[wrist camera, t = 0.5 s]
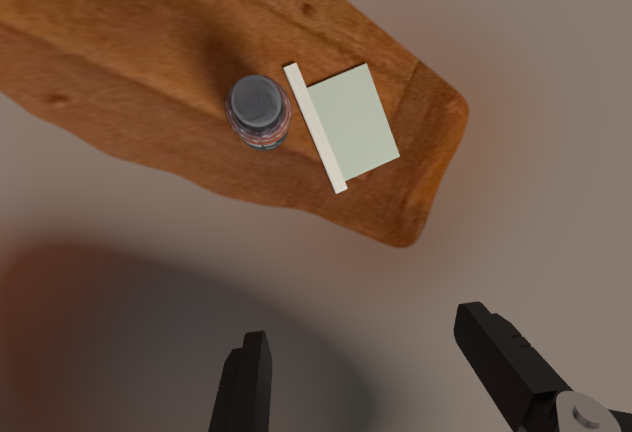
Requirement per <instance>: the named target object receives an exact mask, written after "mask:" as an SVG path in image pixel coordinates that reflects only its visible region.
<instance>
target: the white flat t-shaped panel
mask: <svg viewBox="0 0 632 432" xmlns="http://www.w3.org/2000/svg"><path fill="white" fill-rule="evenodd" d="M284 72H285V74H286V77H287V79H288V81H289V84H290V86H291V89H292V91H293V93H294V96H295V98H296V100H297V103H298V105H299V108H300V110H301V112H302V115H303V117H304V120H305V122H306V124H307V127H308V129H309V132H310V134H311V136H312V139H313V141H314V144H315V146H316V148H317V151H318V153H319V155H320V158H321V160H322V163H323V165H324V167H325V170H326V172H327V175H328V177H329V179H330V182H331V184H332V187H333V189H334V191H335V194H337V193H339V192H341V191H344V190H346V189H348V188H347V186H346V184H345V181H347V180H349V179H351V178H353V177H355V176H358V175H360V174H362V173H364V172H366V171H369V170H371V169H373V168H375V167H378V166H380V165H382V164H384V163H386V162H389V161H391V160H393V159H395V158H397V157H400V155H399V152H398V150H397V147H396V144H395V141H394V139H393V136H392V133H391V130H390V127H389V125H388V122H387V119H386V116H385V113H384V111H383V108H382V105H381V102H380V99H379V97H378V94H377V91H376V88H375V86H374V83H373V80H372V77H371V74H370V72H369V69H368V66H367V63H366V64H364V65H361V66H359V67H356V68H354V69H352V70H349V71H347V72H344V73H342V74H340V75H337V76H335V77H332V78H330V79H328V80H325V81H323V82H320V83H318V84H316V85H313V86H311V87H308V88H306V85H305V83H304V80H303V78H302V76H301V73H300V71H299V68H298V66H297V63H294V64H291V65H289V66H287V67H284Z"/></svg>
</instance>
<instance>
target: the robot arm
mask: <svg viewBox="0 0 632 432" xmlns="http://www.w3.org/2000/svg"><path fill="white" fill-rule="evenodd" d="M454 337H455V340H456V342H457V344H458V346H459V347H460V349H461V351H462V352H463V354H464V356H465V357H466V359H467V360H468V362H469V363H470V365H471V367H472V368H473V369H474V371H475V373H476V374H477V376H478V378H479V379H480V381H481V382H482V384H483V385H484V387H485V388H486V390H487V392H488V393H489V395H490V396H491V398H492V399H493V401H494V402H495V404H496V406H497V407H498V409H499V410H500V412H501V413H502V415H503V417H504V418H505V420H506V421H507V423H508V424H509V426H510V428H511V429H512V431H513V432H632V414H630V413H625V412H619V411H613V410H609V409H606V408H605V407H604V406H602V405H601V404H600V403H599V402H597V401H595V400H594V399H592V398H590V397H588V396H586V395H584V394H581V393H578V392H575V391H573V390H572V389H571V388H570V387H569V386H568V385H567V384H566V383H565V381H564V380H562V378H560V376H559V375H558V374H557V373H556V372H555V371H554V370H553V368H552V367H551V366H550V365H549V364H548V363H547V362H546V361H545V360H544V359H543V357H542V356H541V355H540V354H539V353H538V352H537V351H536V350H535V349H534V348H533V347H531V344H530V343H529V342H528V341H527V340H526V339H525V338H524V337H522V335H521V334H520V332H519V331H517V329H516V328H515V327H514V326H513V325H512V324H511V323H510V322H509V321H507V320H506V319H504V318H503V317H501V316H500V315H498V314H497V313H495V314H491V313H490V312H489V311H488V310H487V308H486V307H485V306H484V305H483V304H482V303H480V302H472V303H463V304H459V306H458V309H457V314H456V319H455V325H454ZM271 383H272V355H271V351H270V347H269V343H268V340H267V336H266V332H265V331H264V330H262V331H255V332H248V333H246V334H245V337H244V342H243V347H242V348H238V349H233V350H232V351H231V353H230V354H229V356H228V358H227V359H226V361H225V363H224V367H223V372H222V376H221V380H220V384H219V388H218V389H219V391H218V393H217V397H216V401H215V405H214V409H213V413H212V418H211V422H210V426H209V430H208V432H269V416H270V401H271Z"/></svg>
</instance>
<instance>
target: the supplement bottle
mask: <svg viewBox="0 0 632 432" xmlns="http://www.w3.org/2000/svg"><path fill="white" fill-rule="evenodd" d="M225 112H226V116H227V119H228V122H229V124H230V126H231V127H232V129H233V130H234V131H235V132H236V134H237V135H238V136H239V137H240V138H241V139H242V140H243V141H244V142H245V143H246V144H247V145H249V146H250V147H252V148H254V149H257V150H261V151H268V150H273V149H275V148H277V147H278V146H280V145H281V144H282V143H283V142H284V140H285V138H286V136H287V133H288V130H289V125H290V121H291V115H292V107H291V103H290V99H289V97H288V95H287V93H286V91H285V90H284V88H283V87H282V86H281V85H280V84H279V83H278V82H276V81H275V80H273V79H271V78H269V77H267V76H263V75H249V76H245V77H243V78H241V79H239V80H238V81H236V83H235V84H234V85H233V86H232V87H231V88H230V90H229V92H228V94H227V97H226V101H225Z"/></svg>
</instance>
